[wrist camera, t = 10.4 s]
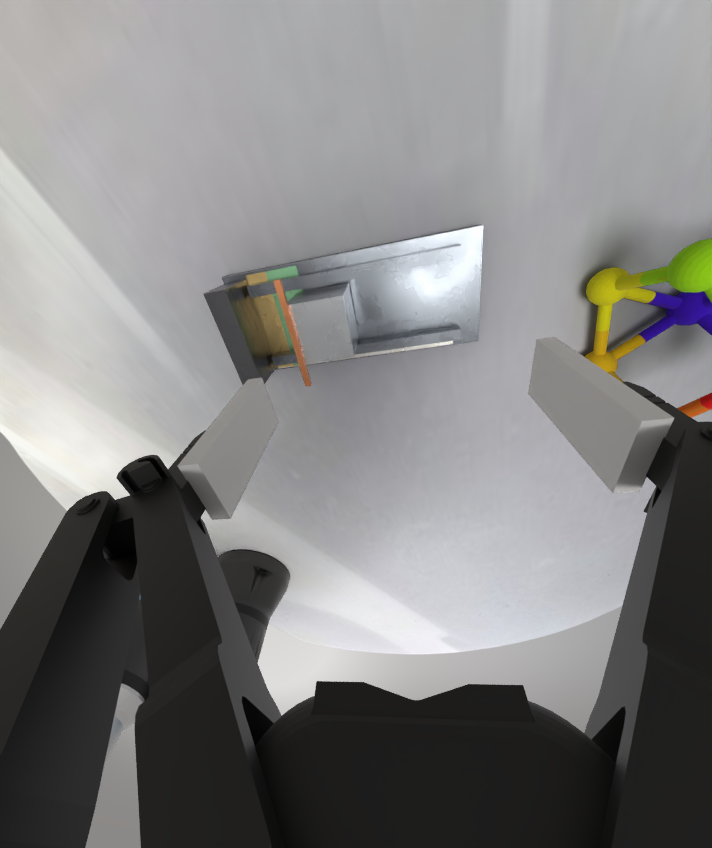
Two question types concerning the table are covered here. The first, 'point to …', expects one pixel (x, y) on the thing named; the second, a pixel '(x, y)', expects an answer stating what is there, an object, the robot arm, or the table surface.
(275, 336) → the base
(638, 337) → the educational toy
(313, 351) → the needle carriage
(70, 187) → the table surface
